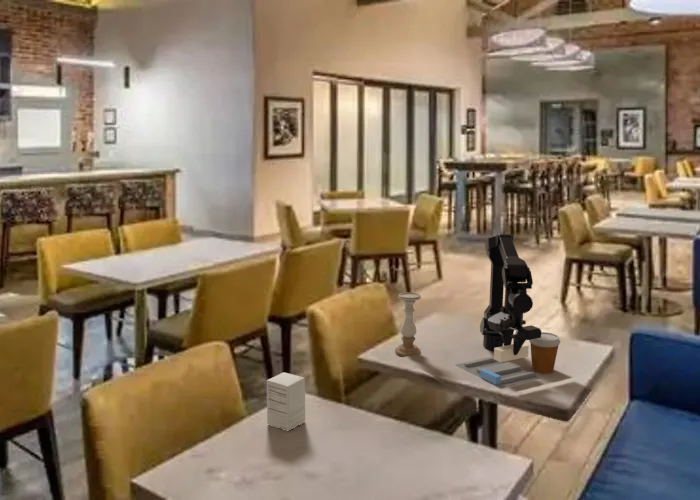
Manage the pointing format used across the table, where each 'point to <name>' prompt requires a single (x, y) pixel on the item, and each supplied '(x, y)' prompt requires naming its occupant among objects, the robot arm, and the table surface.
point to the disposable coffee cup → (544, 352)
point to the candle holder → (408, 326)
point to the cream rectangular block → (509, 353)
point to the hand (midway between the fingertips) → (511, 353)
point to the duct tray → (498, 372)
